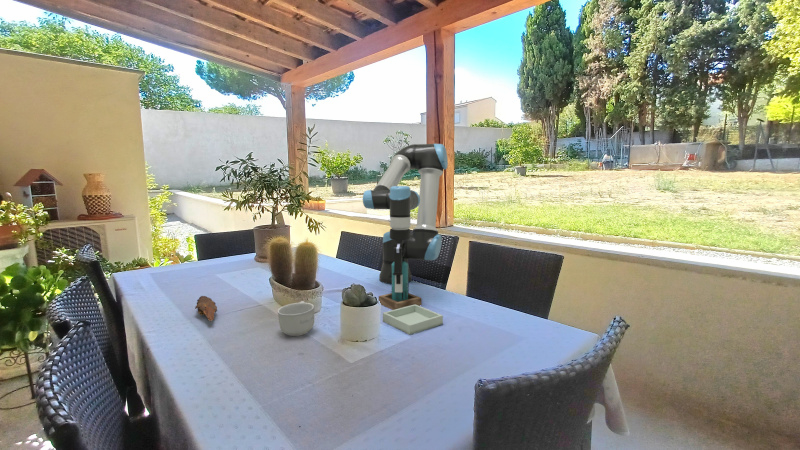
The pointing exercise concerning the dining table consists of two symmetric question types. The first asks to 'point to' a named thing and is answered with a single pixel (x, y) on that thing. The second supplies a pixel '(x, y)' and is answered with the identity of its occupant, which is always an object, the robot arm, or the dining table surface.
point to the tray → (412, 319)
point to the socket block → (393, 305)
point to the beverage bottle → (405, 291)
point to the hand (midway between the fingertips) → (399, 289)
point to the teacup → (296, 318)
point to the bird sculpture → (206, 307)
